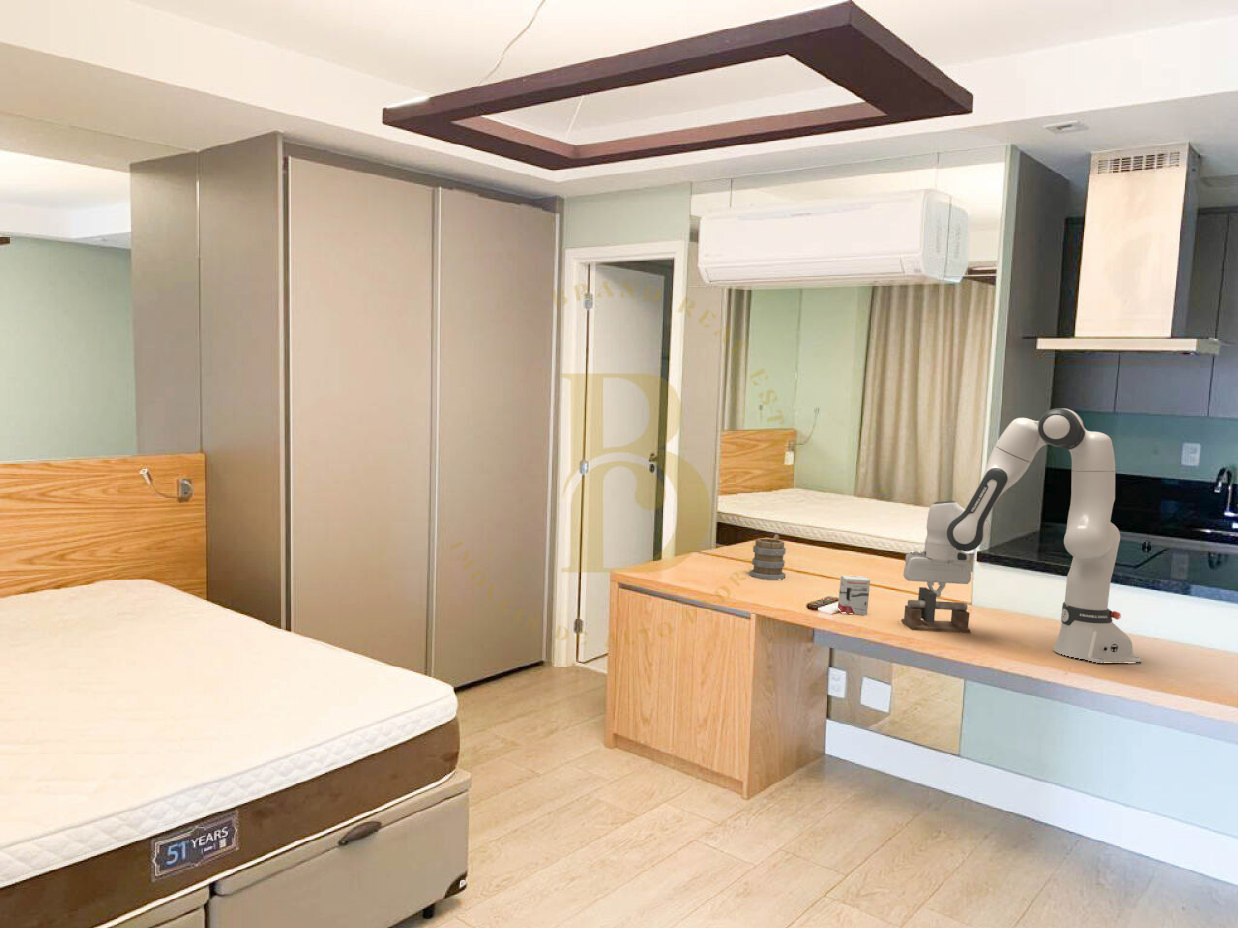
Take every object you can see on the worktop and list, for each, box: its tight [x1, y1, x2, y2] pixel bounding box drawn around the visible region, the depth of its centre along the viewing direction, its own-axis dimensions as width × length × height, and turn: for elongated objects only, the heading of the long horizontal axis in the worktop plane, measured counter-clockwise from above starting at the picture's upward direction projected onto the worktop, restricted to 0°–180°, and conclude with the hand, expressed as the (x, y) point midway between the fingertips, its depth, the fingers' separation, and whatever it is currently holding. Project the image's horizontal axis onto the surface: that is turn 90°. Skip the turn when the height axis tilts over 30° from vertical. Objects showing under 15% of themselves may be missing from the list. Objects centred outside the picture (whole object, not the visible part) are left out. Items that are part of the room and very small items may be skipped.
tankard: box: [748, 533, 786, 581], centre depth 354 cm, size 20×13×15 cm, turn 155°
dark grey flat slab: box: [917, 586, 937, 623], centre depth 285 cm, size 2×9×9 cm, turn 3°
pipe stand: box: [900, 599, 972, 634], centre depth 286 cm, size 18×10×8 cm, turn 93°
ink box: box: [837, 574, 871, 616], centre depth 299 cm, size 8×5×12 cm, turn 92°
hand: (935, 596), depth 286 cm, fingers closed
